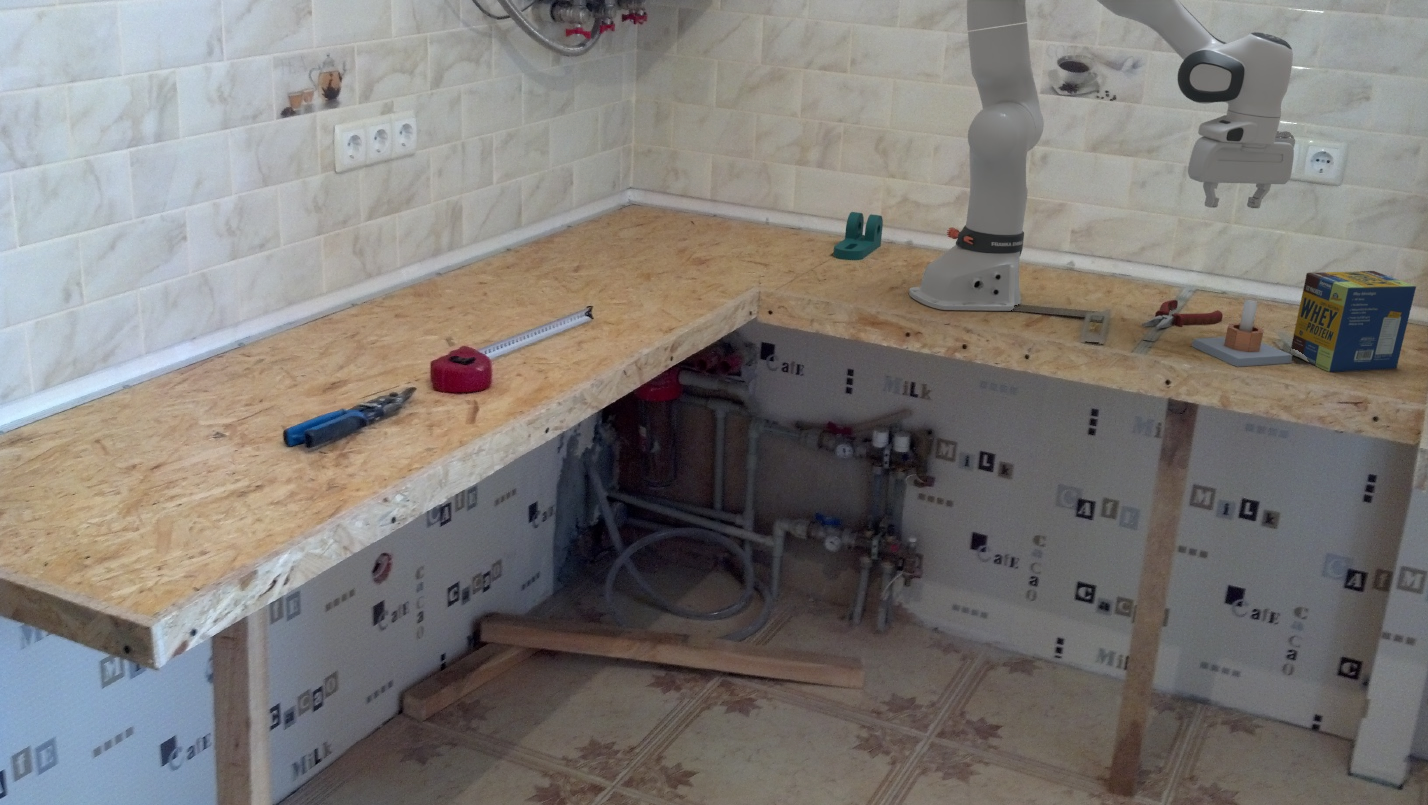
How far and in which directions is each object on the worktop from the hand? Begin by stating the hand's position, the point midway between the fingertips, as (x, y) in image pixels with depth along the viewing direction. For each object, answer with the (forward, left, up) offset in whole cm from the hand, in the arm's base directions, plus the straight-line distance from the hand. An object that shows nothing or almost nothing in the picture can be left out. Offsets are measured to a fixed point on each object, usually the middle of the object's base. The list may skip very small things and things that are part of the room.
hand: (1231, 207), depth 243 cm
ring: (+2, -7, -24) cm, 25 cm away
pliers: (+4, +16, -26) cm, 31 cm away
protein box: (+19, -14, -26) cm, 35 cm away
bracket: (-35, +76, -26) cm, 88 cm away
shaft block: (+2, -7, -25) cm, 27 cm away
